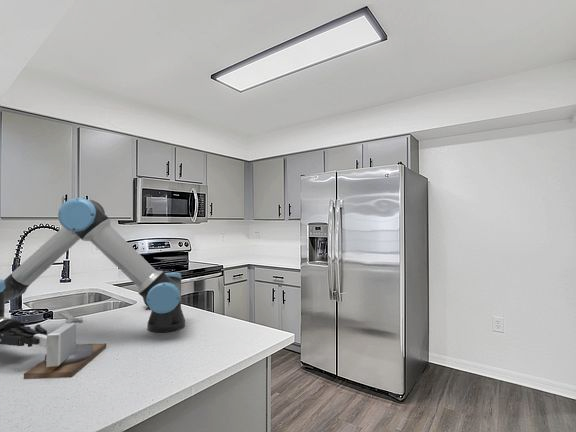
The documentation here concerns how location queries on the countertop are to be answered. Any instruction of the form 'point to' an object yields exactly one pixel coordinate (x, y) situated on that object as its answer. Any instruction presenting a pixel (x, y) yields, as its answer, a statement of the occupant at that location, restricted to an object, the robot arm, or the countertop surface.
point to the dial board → (62, 366)
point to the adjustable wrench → (69, 317)
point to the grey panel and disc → (65, 347)
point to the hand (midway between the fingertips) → (49, 342)
